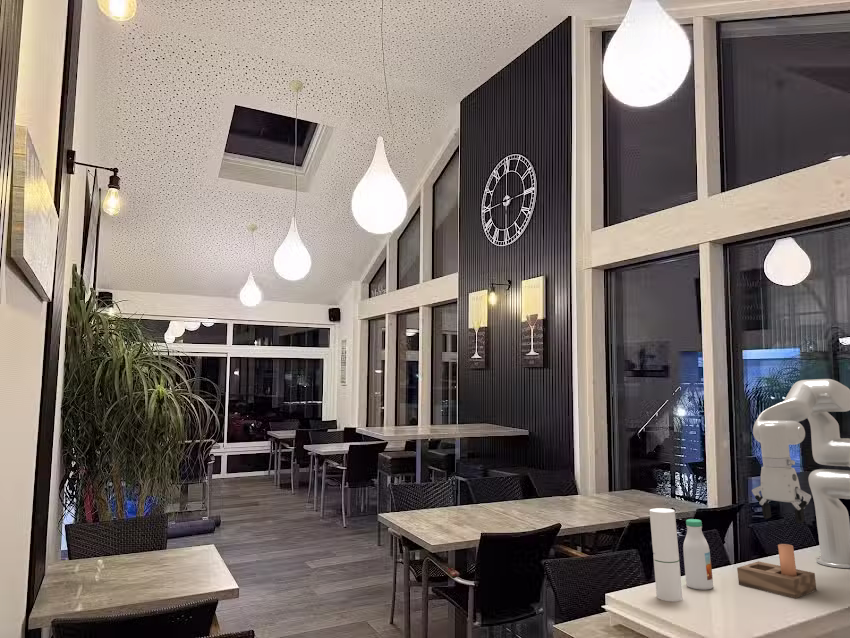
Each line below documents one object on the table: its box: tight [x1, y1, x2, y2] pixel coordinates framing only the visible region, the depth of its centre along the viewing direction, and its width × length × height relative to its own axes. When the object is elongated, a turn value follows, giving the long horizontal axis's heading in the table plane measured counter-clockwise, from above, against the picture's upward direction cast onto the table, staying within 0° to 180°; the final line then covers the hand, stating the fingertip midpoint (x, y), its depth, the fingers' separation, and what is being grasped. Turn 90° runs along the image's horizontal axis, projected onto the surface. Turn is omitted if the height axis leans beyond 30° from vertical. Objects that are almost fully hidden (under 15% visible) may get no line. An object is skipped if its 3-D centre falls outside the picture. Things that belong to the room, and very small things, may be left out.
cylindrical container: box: [649, 507, 683, 602], centre depth 180 cm, size 7×7×25 cm
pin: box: [777, 543, 797, 577], centre depth 181 cm, size 4×4×12 cm
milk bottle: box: [682, 518, 714, 591], centre depth 189 cm, size 8×8×20 cm
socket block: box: [736, 560, 817, 599], centre depth 184 cm, size 12×17×5 cm
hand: (783, 520), depth 183 cm, fingers open, 9 cm apart
